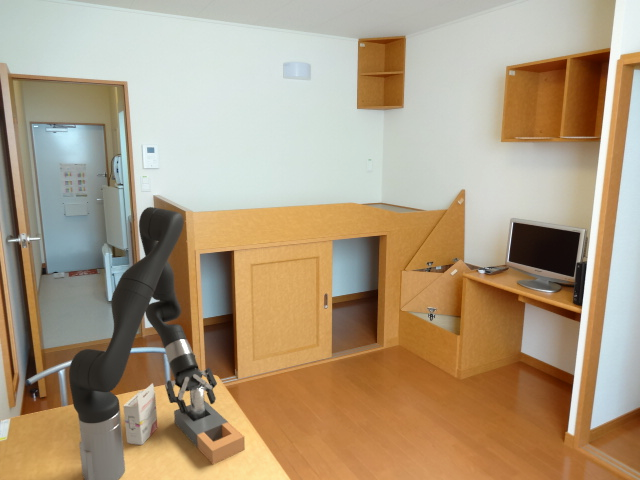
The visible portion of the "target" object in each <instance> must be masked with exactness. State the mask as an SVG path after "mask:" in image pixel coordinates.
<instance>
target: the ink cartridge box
mask: <svg viewBox="0 0 640 480" xmlns="http://www.w3.org/2000/svg"><path fill="white" fill-rule="evenodd" d="M156 402H157V401H156V393H155V387H154V383H150V385H148V387H146V388H145V389H144V390H139V391H138V392H137V393H136V394H135V395H133V396H132V397H131V398H130V399H129V400H128V401H127V402H125V404H123V416H124V417H123V418H124V425H125V434H126V443H127V444H130V445H141V446H142V445H144V443H145V442H146V441H147V440H148V439H149V438H150V437H151V436H152V434H153V433H154V432H155V431H156V430H157V429H158V416H157V414H158V413H157V403H156Z"/></svg>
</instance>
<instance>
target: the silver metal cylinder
mask: <svg viewBox="0 0 640 480" xmlns="http://www.w3.org/2000/svg"><path fill="white" fill-rule="evenodd" d="M189 396H190V397H189V398H190V399H189V401H190V405H191V420H192V421H193V422H194V421H196V420H199V419H201V418H204V417H205V401H206V400H205V390H204V387H203V386H194V387H192V388H190V391H189Z"/></svg>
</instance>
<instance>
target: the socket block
mask: <svg viewBox="0 0 640 480" xmlns="http://www.w3.org/2000/svg"><path fill="white" fill-rule="evenodd" d="M186 407H187V410H188V413H187V414H185V415H184V414H183V413H181V412H180V409H179V408H178V409H176V410H173V416H174V418H173V419H174V423H175V425H176V426H177V427H178V428H179V429H180V430H181V431H182V432H183V434H184V435H186V437H187V438H188V439H189V440H190V441H191V442H192V443H193V444H194V446H195V447H197V448H198V451H200V452H201V453H202V454H203V455H204V457H206V458H207V459H208V461H209V462H210V463H211V464H212V465H215V464H218V463H219V462H221V461H224V460H226V459H227V458H229V457H231V456H234V455H236V454H238V453H240V452H243V451H244V450H245V449H246V448H245V447H246V445H245V442H246V441H245V435H243V434H242V433H241V431H239V430H238V429H237V428H236V427H234V426H233V425H232V423H230V422H229V421H228V420H227V419H226V418H224V416H223V415H221V414H220V413H219V412H218V411H217V410H216V409H215V408H214V407H213V406H211V404H209V402H207V401H206V400H205V417H204V418H201V419H199V420H196V421H194V422H193V421H192V420H191V404H189V405H186Z"/></svg>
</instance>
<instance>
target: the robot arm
mask: <svg viewBox="0 0 640 480" xmlns="http://www.w3.org/2000/svg"><path fill="white" fill-rule="evenodd" d="M183 228H184V216H183V215H182V213H180V212H178V211H175V210H169V209H165V208H164V209H163V208H159V207H153V206H152V207H151V206H149V207H145V209H144V210H143V211H142V212H141V215H140V216H139V220H138V231H139V236H140V240H141V244H142V249H143V253H144V257H142V258H141V259H140V260H138V261H137V262H136V263H134V264H132V265H131V266H130V267H128V268H127V269H126V270H125V271H124V272H123V273H122V274H121V277H120V279H119V280H118V282H117V284H116V286H115V289H114V292H113V293H112V296H111V301H110V302H111V303H110V305H111V312H112V313H111V315H112V320H113V332H112V336H111V339H110V341H109V344H108V346H107V348H106V350H99V349H92V348H91V349H90V348H86V349H85V348H84V349H82V350H80V351H78V352H77V353H76V354H75V355H74V357H73V358H72V360H71V362H70V365H69V370H68V380H69V381H68V382H69V387H70V393H71V400H72V404H73V408H74V409H75V411H76V413H77V416H78V417H77V418H78V423H79V434H80V441H79V445H78V446H79V453H80V462H81V463H80V464H81V473H82V477H83V479H84V480H119V479H121V477H122V476H123V475H124V474H125V471H126V466H125V465H126V463H125V454H124V442H123V431H122V430H123V429H122V418H121V408H120V399H119V398H118V396H117V395H115V394H114V393H113V392H111V391H113V390H114V389H116V388H117V386H118V385H119V383H120V382H121V379H122V378H123V376H124V373H125V370H126V367H127V364H128V361H129V358H130V355H131V351H132V349H133V345H134V342H135V340H136V336H137V334H138V331H139V328H140V326H141V323H142V321H143V318H144V316H146V320H147V321H148V322H149V324H150V325H151V326H152V327H153V329H154V330H155V331H156V333H157V334H158V337H160V340H161V342H162V346H163V348H164V351H165V356H166V359H167V362H168V364H169V367H170V370H171V372H172V375H173V377H174V380H167V381H166V383H165V384H164V386H165V391H166V394H167V397H168V402H169V403H170V404H173V403H176V404H177V405H178V409H180V412H181V413H183V414H184V415H185V414H187V413H188V410H187V407H186V406H187V405H186V404H187V403H186V402H185V399H184V395H185V392H190V388H192V387H194V386H203V387H204V392H206V397H207V398H208V400H209V403H210V404H209V405H213V404H215V403H216V399H217V397H216V396H215V395H216V394H215V393H214V388H216V386H217V385H218V381H217V379H216V378H215V376H214V374H213V371H212V368H210V367H206V369H204V370H200V367H199V364H198V362H197V360H196V358H195V355H194V353H193V350H192V347H191V344H190V342H189V340H188V339H187V336H186V334H185V331H184V329H183V327H182V325H180V324H176V323H175V324H168V322H171V321H174V320H176V319H178V318H179V317H181V312H182V308H181V305H180V303H179V300H178V298H177V294H176V291H175V289H176V288H175V275H174V270H173V268H172V266H171V264H170V262H169V258H170V257H171V255H172V252H173V250H174V249H175V247H176V245H177V243H178V241H179V239H180V236H181V234H182V232H183ZM152 299H154V300H155V301H154V302H151V300H152ZM150 302H151V303H150ZM203 377H204V378H206V379H207V380H205V379H203ZM175 386H177V387H178V388H179V390H178V393H177V396H176V393H175V391H174V388H175Z"/></svg>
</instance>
